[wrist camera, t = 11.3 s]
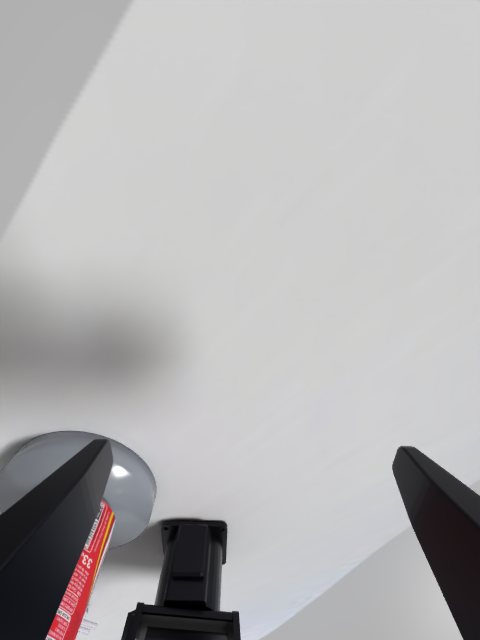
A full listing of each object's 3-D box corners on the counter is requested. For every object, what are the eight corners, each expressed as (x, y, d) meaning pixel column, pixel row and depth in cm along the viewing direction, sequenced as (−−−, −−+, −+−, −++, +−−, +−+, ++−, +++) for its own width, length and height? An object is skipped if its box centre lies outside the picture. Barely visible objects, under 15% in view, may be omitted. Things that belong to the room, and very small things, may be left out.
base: (160, 530, 30) (155, 552, 28) (31, 527, 29) (17, 549, 28) (150, 433, 25) (143, 452, 23) (-7, 428, 24) (-27, 448, 22)
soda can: (56, 535, 27) (-70, 774, 16) (22, 483, 24) (-160, 729, 13) (130, 528, 26) (54, 767, 15) (105, 474, 24) (-10, 720, 13)
